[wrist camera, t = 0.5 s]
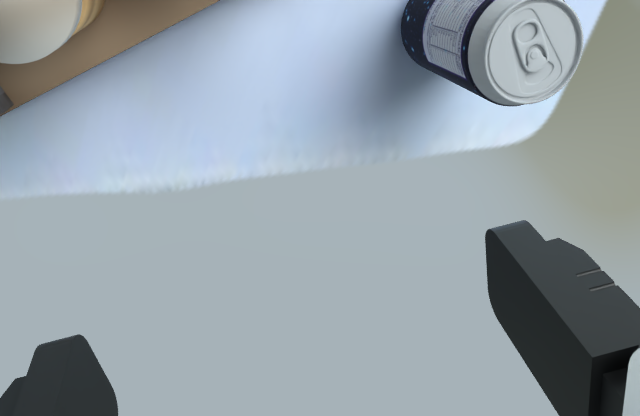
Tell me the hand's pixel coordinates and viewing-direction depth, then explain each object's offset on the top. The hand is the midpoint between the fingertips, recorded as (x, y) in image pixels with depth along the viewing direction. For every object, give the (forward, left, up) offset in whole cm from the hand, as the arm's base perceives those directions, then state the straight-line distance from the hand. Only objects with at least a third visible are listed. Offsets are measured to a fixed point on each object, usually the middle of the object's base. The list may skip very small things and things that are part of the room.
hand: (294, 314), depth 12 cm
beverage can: (+4, +13, -28) cm, 31 cm away
